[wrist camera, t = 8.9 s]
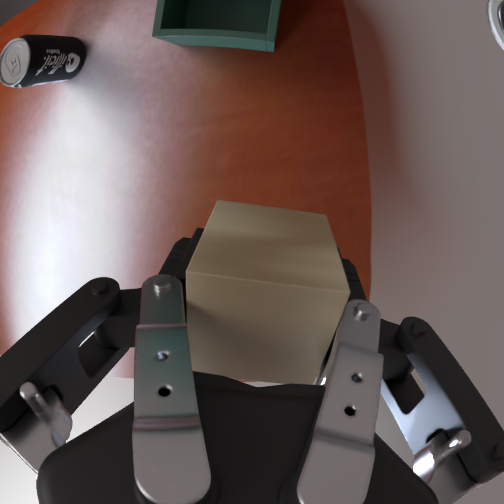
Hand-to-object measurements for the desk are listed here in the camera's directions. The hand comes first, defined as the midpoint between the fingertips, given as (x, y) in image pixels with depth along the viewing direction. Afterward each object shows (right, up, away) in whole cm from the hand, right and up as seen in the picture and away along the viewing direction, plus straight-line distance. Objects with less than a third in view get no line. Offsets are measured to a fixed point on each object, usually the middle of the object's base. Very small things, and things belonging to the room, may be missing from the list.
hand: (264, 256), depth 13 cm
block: (0, 0, 0) cm, 0 cm away
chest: (-3, +30, +14) cm, 33 cm away
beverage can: (-25, +27, +17) cm, 41 cm away
